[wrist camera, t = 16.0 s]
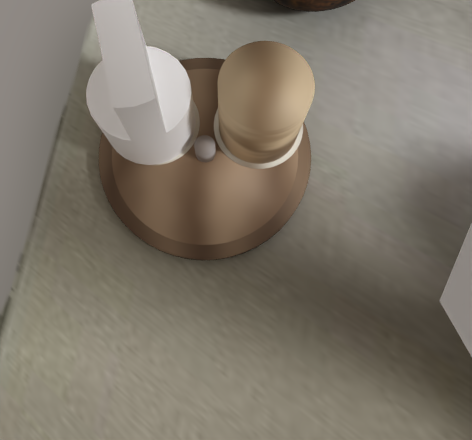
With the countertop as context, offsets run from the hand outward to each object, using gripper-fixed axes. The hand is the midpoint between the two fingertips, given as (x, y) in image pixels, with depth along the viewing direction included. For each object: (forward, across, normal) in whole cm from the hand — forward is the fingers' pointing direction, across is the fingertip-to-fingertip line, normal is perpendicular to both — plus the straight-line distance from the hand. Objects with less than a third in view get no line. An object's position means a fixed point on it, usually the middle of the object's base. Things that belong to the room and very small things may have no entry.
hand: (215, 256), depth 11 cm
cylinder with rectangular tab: (+32, -8, -8) cm, 34 cm away
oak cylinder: (+32, +3, -8) cm, 33 cm away
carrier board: (+31, -2, -11) cm, 33 cm away
